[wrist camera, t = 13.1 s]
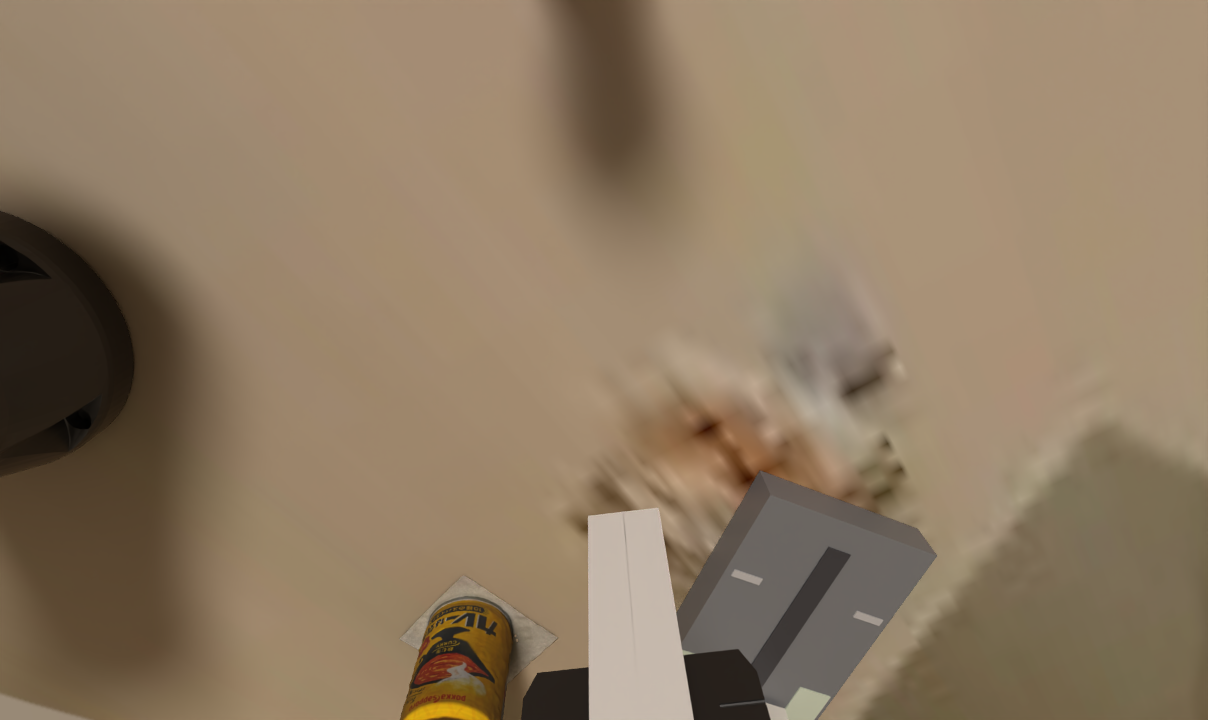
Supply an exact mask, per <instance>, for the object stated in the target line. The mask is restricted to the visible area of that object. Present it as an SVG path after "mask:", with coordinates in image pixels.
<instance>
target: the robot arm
mask: <svg viewBox="0 0 1208 720" xmlns="http://www.w3.org/2000/svg"><path fill="white" fill-rule="evenodd" d="M132 378H133V351H132V345H131V340H130V336H129V332H128V329H127V326H126V323H125V321H124V318H123V316H122V314H121V312H120V310H119V308H118V306H117V304H116V302H115V300H114V299H113V297H112V295H111V294H110V292H109V291H108V289H107V288H106V287H105V285H104V284H103V282H102V281H101V280H100V279H99V277H98V276H97V275H96V274H95V273H94V272H93V270H92V269H91V268H90V267H89V266H88V265H87V264H86V263H85V262H84V261H83V260H82V259H81V258H80V257H79V256H78V255H76V254H75V253H74V252H73V251H72V250H71V249H69V248H68V247H67V246H66V245H64V244H63V243H62V242H60V241H59V240H57V239H56V238H55V237H53V236H52V235H50V234H48V233H47V232H45V231H44V230H42V229H40V228H38V227H36V226H35V225H33V224H31V223H29V222H27V221H24V220H22V219H20V218H18V217H15V216H13V215H10V214H8V213H5V212H2V211H0V477H2V476H5V475H9V474H12V473H16V472H19V471H23V470H26V469H30V468H33V467H37V466H40V465H44V464H47V463H50V462H52V461H55V460H57V459H60V458H62V457H64V456H66V455H68V454H70V453H72V452H73V451H75V450H76V449H78V448H80V447H81V446H82V445H84V444H85V443H86V442H88V441H89V440H90V439H92V438H93V437H94V436H96V435H97V434H98V433H100V432H101V431H102V430H104V429H105V428H106V427H107V426H108V425H109V424H110V423H111V422H112V421H113V420H114V419H115V418H116V416H117V415H118V414H119V412H120V411H121V409H122V407H123V406H124V404H125V402H126V399H127V397H128V394H129V391H130V388H131V384H132ZM588 602H589V667H587V668H578V669H569V670H560V671H551V672H542V673H537V675H536V677H535V678H534V680H533V682H532V684H531V686H530V688H529V689H528V691H527V693H526V695H525V697H524V699H523V707H522V717H521V720H771V719H770V715H769V712H768V708H767V705H766V703H765V698H764V694H763V691H762V687H761V684H760V680H759V677H758V673H757V671H756V669H755V668H754V667H753V666H752V665H751V663H750V662H749V661H748V660H747V659H746V658H745V656H744V655H743V654H742V653H741V652H740V650H739V649H732V650H724V651H715V652H706V653H697V654H688V655H683V652H682V646H681V640H680V634H679V627H678V621H677V615H676V609H675V603H674V597H673V591H672V585H671V579H670V573H669V567H668V561H667V555H666V549H665V543H664V537H663V531H662V525H661V519H660V513H659V508H652V509H644V510H635V511H626V512H618V513H609V514H601V515H592V516H588Z"/></svg>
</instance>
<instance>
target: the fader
mask: <svg viewBox="0 0 1208 720" xmlns="http://www.w3.org/2000/svg"><path fill="white" fill-rule="evenodd" d="M766 705H767V708H768V712H769V715H770V719H771V720H788V717H787V713H786V710H785V708H781V707H778V706H775V705H772V704H768V703H766Z"/></svg>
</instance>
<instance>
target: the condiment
mask: <svg viewBox="0 0 1208 720" xmlns="http://www.w3.org/2000/svg"><path fill="white" fill-rule="evenodd" d="M515 634H516V635H517V637H514V635H515ZM516 638H517V639H518V642H516ZM557 638H558V637H556V636H555V635H553V634H551V633H549V632H548V631H547V630H545V629H544V628H543V627H541V626H539V625H537V624H536V623H534V622H533V621H532V620H530V619H529V618H527V617H525V616H524V615H523V614H521V613H520V612H518V611H517V610H516V609H514V608H513V607H512V606H510V605H509V604H508V603H506V602H505V601H503V600H501V599H500V598H498V597H497V596H495V595H494V594H492V593H491V592H489V591H488V590H487V589H485V588H483V587H482V586H480V585H478V584H477V583H476V582H474V581H473V580H471V579H469V578H468V577H465V576H462V577H460V578H459V579H458V580H457V581H456V582H455V583H454V584H453V585H452V586H451V587H450V588H449V589H448V590H447V591H446V592H445V593H444V594H443V595H442V596H441V597H440V598H439V599H438V600H437V601H436V602H435V603H434V604H433V605H432V606H431V607H430V608H429V609H428V610H427V611H426V612H425V613H424V614H423V615H422V616H421V617H420V618H419V619H418V620H417V621H416V622H415V623H414V624H413V626H412V627H411V628H410V629H409V630H408V631H407V632H406V633H405V634H404V635H403V636H402V637H401V638H400V640H402V641H403V642H405V643H407V644H409V645H410V646H412V647H414V648H416V649H418V650H419V656H418V658H417V662H416V665H415V667H414V672H413V675H412V680H411V682H410V684H409V692H408V694H407V699H406V701H405V704H404V706H403V711H402V713H401V718H400V720H503V714H504V702H505V695H506V687H507V684H508V683H509V682H510V681H511V680H512V679H513V678H514V677H515V676H516V675H517V674H518V673H519V672H520V671H522V670H523V669H524V668H525V667H526V666H527V665H528V664H529V663H530V661H532V660H534V659H535V658H536V657H537V656H538V655H540V654H541V653H542V652H543V651H544V650H545V649H546V648H547V647H549V646H550V645H551V644H552V643H553V642H554V641H555V640H556V639H557Z"/></svg>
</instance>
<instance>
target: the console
mask: <svg viewBox="0 0 1208 720" xmlns="http://www.w3.org/2000/svg"><path fill="white" fill-rule="evenodd" d="M936 557H937V555H936V553H935V552H934V550H933V549H932V548H931V546H930V545H929V544H928V542H927V541H926V539H925V538H924V537H923V535H922V534H921V532H920V531H919V530H918V529H917V528H914V527H911V526H908V525H906V524H903V523H900V522H898V521H895V520H892V519H890V518H887V517H884V516H881V515H879V514H876V513H873V512H871V511H868V510H865V509H863V508H860V507H857V506H854V505H852V504H849V503H846V502H844V501H841V500H838V499H836V498H833V497H830V496H827V495H825V494H822V493H819V492H817V491H814V490H811V489H809V488H806V487H803V486H801V485H798V484H795V483H792V482H790V481H787V480H784V479H782V478H779V477H776V476H774V475H771V474H768V473H765V472H763V471H759V473H758V475H757V476H756V478H755V480H754V481H753V483H752V485H751V487H750V488H749V490H748V492H747V493H746V495H745V497H744V499H743V500H742V502H741V504H740V505H739V507H738V509H737V511H736V512H735V514H734V516H733V517H732V519H731V521H730V523H729V524H728V526H727V528H726V529H725V531H724V533H723V535H722V536H721V538H720V540H719V541H718V543H717V545H716V547H715V548H714V550H713V552H712V553H711V555H710V557H709V559H708V560H707V562H706V564H705V565H704V567H703V569H702V570H701V572H700V574H699V576H698V577H697V579H696V581H695V582H694V584H693V586H692V588H691V589H690V591H689V593H688V594H687V596H686V598H685V600H684V601H683V603H682V605H681V606H680V608H679V610H678V612H677V613H676V615H677V621H678V627H679V634H680V640H681V646H682V652H683V655H688V654H697V653H706V652H715V651H724V650H732V649H739V650H740V652H741V653H742V654H743V655H744V656H745V658H746V659H747V660H748V661H749V662H750V663H751V665H752V666H753V667H754V668H755V669H756V671H757V673H758V677H759V680H760V684H761V687H762V691H763V694H764V698H765V703H768V704H772V705H775V706H778V707H781V708H785V710H786V713H787V717H788V720H818V718H819V717H820V716H821V714H822V713H823V712H824V710H825V709H826V707H827V706H828V705H829V703H830V702H831V701H832V699H833V698H834V697H835V695H836V694H837V692H838V691H839V690H840V688H841V687H842V686H843V684H844V683H845V681H846V680H847V679H848V677H849V676H850V675H851V673H852V672H853V671H854V669H855V668H856V666H857V665H858V664H859V662H860V661H861V660H862V658H863V657H864V655H865V654H866V653H867V651H868V650H869V649H870V647H871V646H872V644H873V643H874V642H875V640H876V639H877V638H878V636H879V635H880V634H881V632H882V631H883V629H884V628H885V627H886V625H887V624H888V623H889V621H890V620H891V618H892V617H893V616H894V614H895V613H896V612H897V610H898V609H899V608H900V606H901V605H902V603H903V602H904V601H905V599H906V598H907V597H908V595H909V594H910V592H911V591H912V590H913V588H914V587H915V586H916V584H917V583H918V581H919V580H920V579H921V577H922V576H923V575H924V573H925V572H926V571H927V569H928V568H929V566H930V565H931V564H932V562H933V561H934V560H935V558H936Z"/></svg>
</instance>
